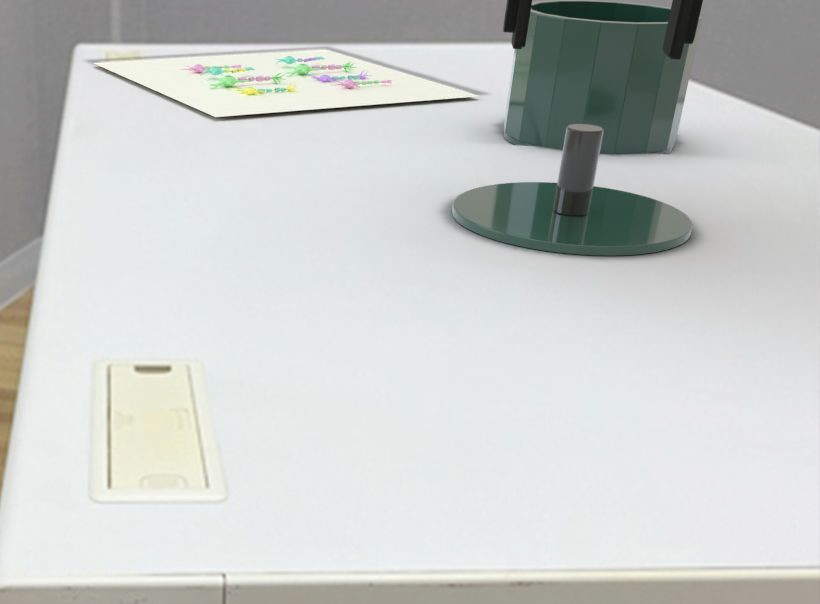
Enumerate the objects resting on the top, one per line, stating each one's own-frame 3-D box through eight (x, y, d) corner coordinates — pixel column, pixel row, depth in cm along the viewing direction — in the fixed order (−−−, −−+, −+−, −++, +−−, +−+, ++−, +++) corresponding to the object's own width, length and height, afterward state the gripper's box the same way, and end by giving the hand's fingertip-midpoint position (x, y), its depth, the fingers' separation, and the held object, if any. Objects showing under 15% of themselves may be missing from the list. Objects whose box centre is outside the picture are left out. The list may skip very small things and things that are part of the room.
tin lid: (669, 206, 89) (690, 110, 85) (708, 273, 75) (734, 163, 72) (450, 192, 91) (462, 97, 87) (450, 255, 77) (464, 146, 74)
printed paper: (215, 120, 110) (215, 104, 109) (92, 66, 132) (92, 51, 131) (479, 99, 122) (481, 84, 121) (326, 52, 144) (327, 39, 143)
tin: (659, 128, 112) (684, 4, 106) (684, 165, 100) (715, 27, 94) (500, 119, 114) (517, -4, 108) (506, 154, 102) (526, 18, 96)
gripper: (501, -289, 66) (457, 51, 75) (832, -277, 64) (745, 70, 73) (496, -279, 72) (457, 34, 81) (797, -268, 70) (721, 51, 79)
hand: (593, 50), depth 77 cm, fingers open, 9 cm apart
